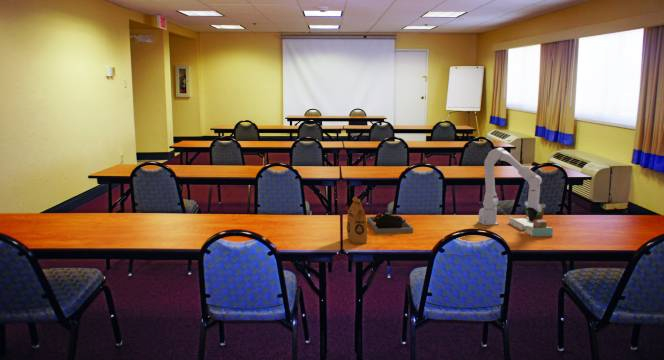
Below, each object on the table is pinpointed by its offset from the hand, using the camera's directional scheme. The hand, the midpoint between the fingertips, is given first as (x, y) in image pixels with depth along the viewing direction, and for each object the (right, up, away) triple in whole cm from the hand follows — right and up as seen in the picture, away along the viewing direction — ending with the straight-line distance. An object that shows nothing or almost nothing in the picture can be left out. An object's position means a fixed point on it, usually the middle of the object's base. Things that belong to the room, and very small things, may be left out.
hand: (531, 221), depth 283 cm
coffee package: (-98, -9, -21) cm, 100 cm away
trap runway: (0, -5, +3) cm, 5 cm away
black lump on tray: (-79, -5, +1) cm, 79 cm away
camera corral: (-78, -3, +6) cm, 79 cm away
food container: (+10, -1, +24) cm, 26 cm away
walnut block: (+1, -4, -8) cm, 9 cm away
